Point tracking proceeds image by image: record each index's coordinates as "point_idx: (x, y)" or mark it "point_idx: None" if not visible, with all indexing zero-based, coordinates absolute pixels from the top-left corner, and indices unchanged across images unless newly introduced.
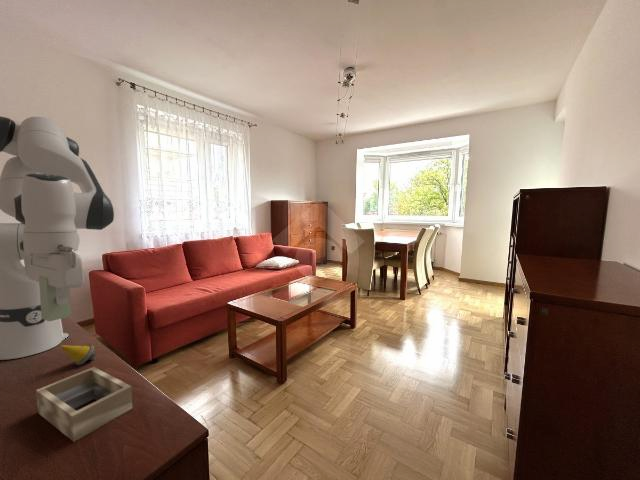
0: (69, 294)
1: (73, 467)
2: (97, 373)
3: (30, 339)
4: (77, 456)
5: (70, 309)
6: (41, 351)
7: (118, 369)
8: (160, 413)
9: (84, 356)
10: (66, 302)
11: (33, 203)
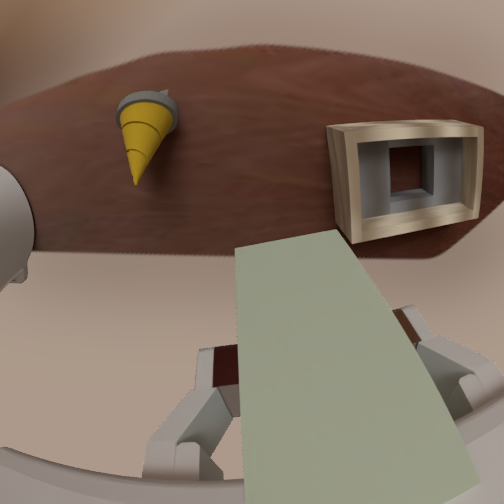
0: (396, 323)
1: (482, 212)
2: (389, 139)
3: (5, 231)
4: None
5: (350, 252)
6: (25, 199)
7: (280, 60)
8: (489, 107)
9: (172, 118)
10: (414, 309)
11: None
